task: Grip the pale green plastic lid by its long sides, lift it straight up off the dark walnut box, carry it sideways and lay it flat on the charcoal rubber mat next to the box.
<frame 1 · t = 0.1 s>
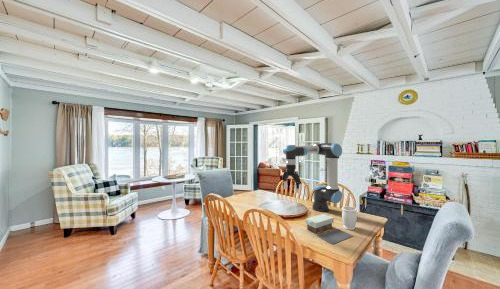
hand: (291, 190, 163), 28 cm above the table, fingers open, 13 cm apart
jar: (349, 227, 158), on the table
mat: (335, 236, 145), on the table
lid: (319, 222, 157), point 5 cm above the table, touching box
box: (319, 228, 157), on the table
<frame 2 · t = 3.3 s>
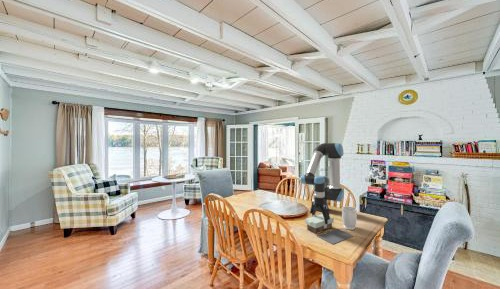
hand: (319, 225, 157), 3 cm above the table, fingers closed on lid, 10 cm apart
lid: (319, 222, 157), point 5 cm above the table, touching box, gripper
everything else where it was.
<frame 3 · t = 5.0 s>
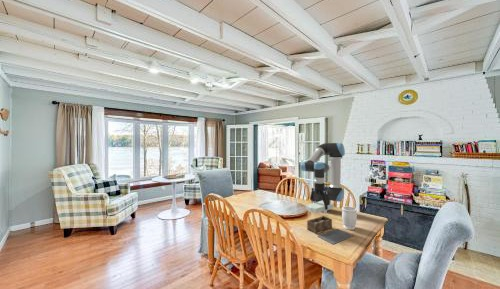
hand: (319, 211, 157), 14 cm above the table, fingers closed on lid, 10 cm apart
lid: (319, 208, 157), point 15 cm above the table, touching gripper
everything else where it was.
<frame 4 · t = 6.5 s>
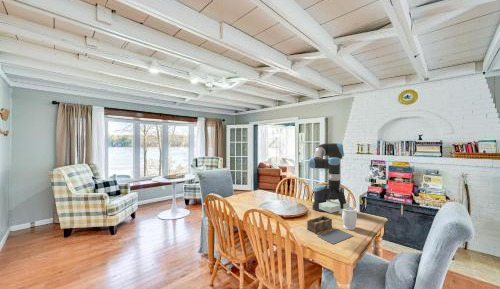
hand: (334, 210, 145), 18 cm above the table, fingers closed on lid, 10 cm apart
lid: (334, 208, 145), point 20 cm above the table, touching gripper
everything else where it was.
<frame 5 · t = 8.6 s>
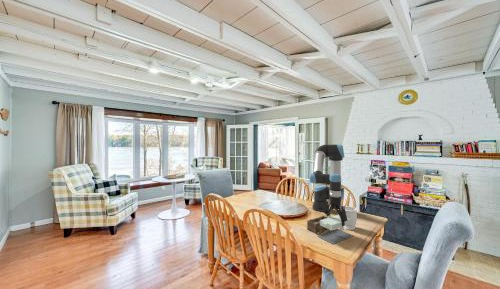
hand: (335, 227, 144), 7 cm above the table, fingers closed on lid, 10 cm apart
lid: (335, 224, 144), point 8 cm above the table, touching gripper
everything else where it was.
when the fingers open (3 cm above the table, at t = 10.0 s): lid drops 4 cm, resting on mat.
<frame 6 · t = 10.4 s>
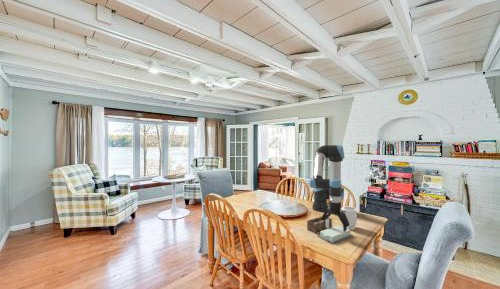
hand: (335, 231, 145), 4 cm above the table, fingers open, 13 cm apart
lid: (335, 235, 145), resting on mat
everything else where it was.
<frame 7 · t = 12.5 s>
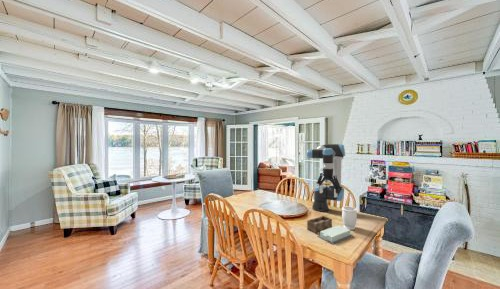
hand: (328, 194, 161), 25 cm above the table, fingers open, 13 cm apart
nothing on the table moved.
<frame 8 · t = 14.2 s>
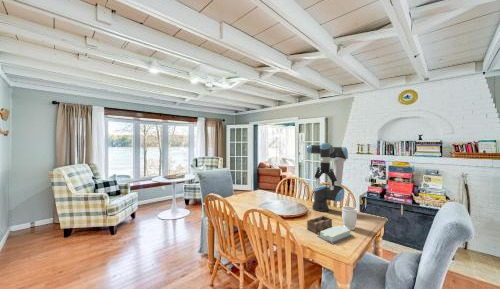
hand: (325, 188, 167), 29 cm above the table, fingers open, 13 cm apart
nothing on the table moved.
at the end: lid 0.0 cm off-centre on the mat, point 0.4 cm above the mat's base; lid tilted 0°; the gripper is holding nothing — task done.
